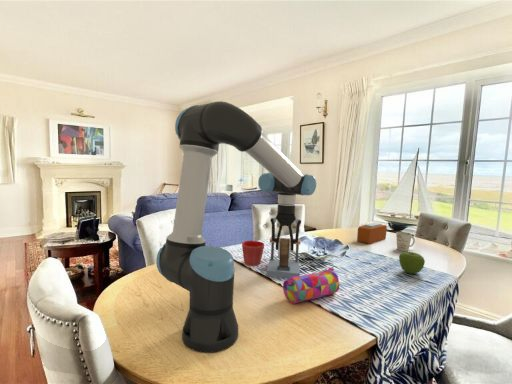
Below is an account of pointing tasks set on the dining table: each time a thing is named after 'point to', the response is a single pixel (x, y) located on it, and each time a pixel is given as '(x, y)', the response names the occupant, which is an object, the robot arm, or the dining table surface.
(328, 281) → the pencil case
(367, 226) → the orange rectangular block
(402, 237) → the mug
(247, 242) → the flower pot
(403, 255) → the apple
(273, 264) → the socket board
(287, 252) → the dowel
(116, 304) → the dining table surface
